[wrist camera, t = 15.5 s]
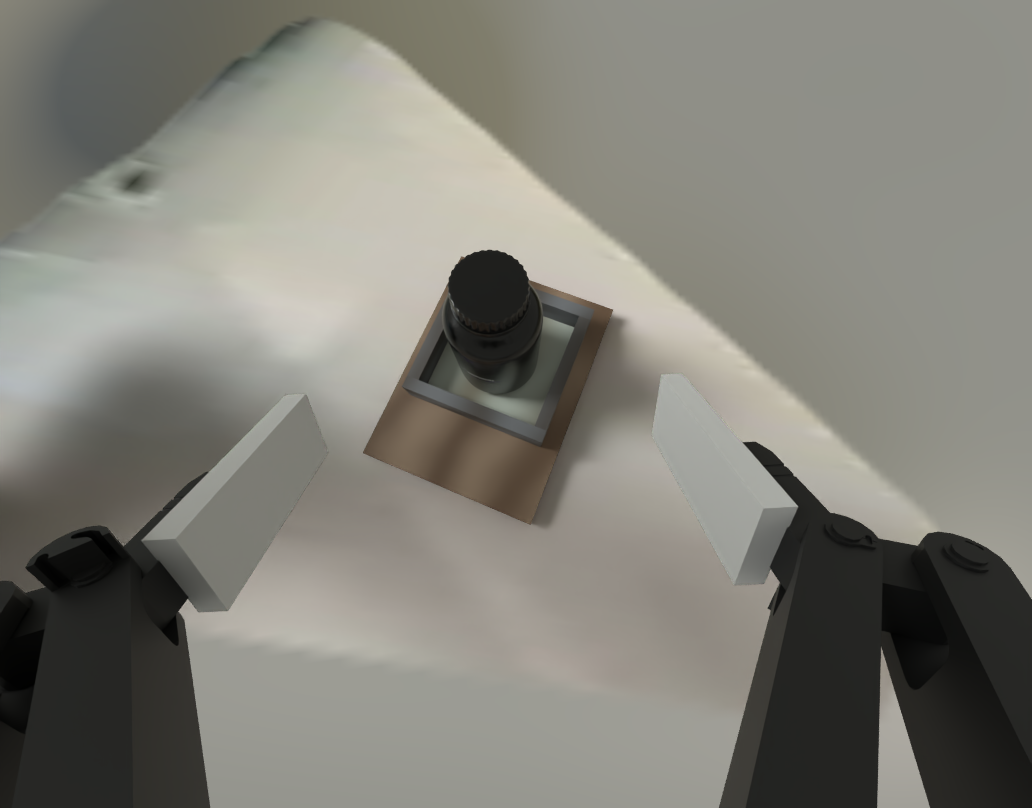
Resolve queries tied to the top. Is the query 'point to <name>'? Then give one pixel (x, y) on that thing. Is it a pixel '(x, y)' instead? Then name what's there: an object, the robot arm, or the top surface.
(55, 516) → the top surface
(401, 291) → the top surface
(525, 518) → the base board
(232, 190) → the top surface
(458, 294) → the supplement bottle
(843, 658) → the robot arm
